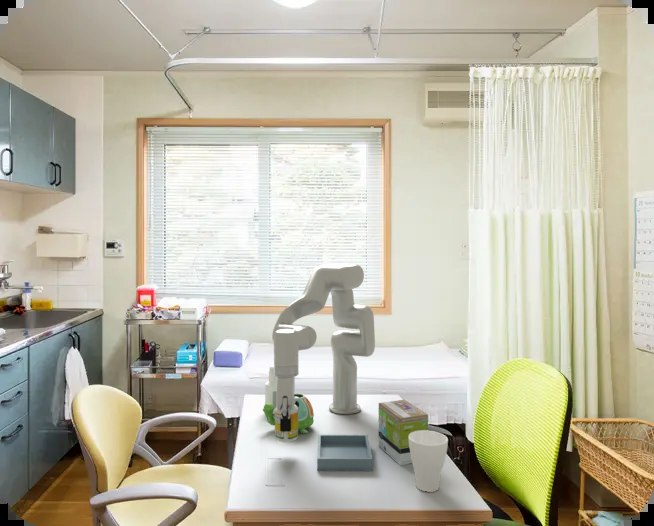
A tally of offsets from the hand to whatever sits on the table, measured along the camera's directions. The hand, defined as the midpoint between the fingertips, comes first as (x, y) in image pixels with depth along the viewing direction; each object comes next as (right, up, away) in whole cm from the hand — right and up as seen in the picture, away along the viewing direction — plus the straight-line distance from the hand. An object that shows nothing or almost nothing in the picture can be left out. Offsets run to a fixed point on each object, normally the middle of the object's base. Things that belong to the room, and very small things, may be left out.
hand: (286, 425), depth 150 cm
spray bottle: (-8, -8, +40) cm, 41 cm away
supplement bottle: (0, -4, 0) cm, 4 cm away
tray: (+18, -9, -1) cm, 20 cm away
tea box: (+36, -10, +2) cm, 37 cm away
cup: (+40, -10, -19) cm, 45 cm away
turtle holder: (0, -9, +22) cm, 23 cm away
